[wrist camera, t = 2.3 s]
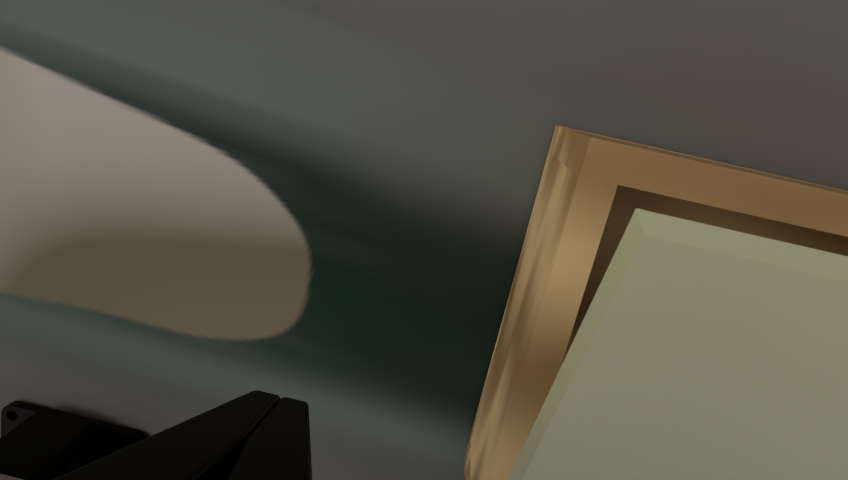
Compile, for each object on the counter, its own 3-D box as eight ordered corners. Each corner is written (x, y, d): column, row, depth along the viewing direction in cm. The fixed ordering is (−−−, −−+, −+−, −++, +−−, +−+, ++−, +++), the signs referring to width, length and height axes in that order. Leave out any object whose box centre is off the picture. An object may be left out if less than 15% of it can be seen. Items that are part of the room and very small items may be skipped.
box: (793, 534, 23) (902, 683, 17) (465, 454, 23) (462, 573, 17) (950, 213, 19) (1158, 264, 13) (556, 124, 19) (591, 137, 14)
